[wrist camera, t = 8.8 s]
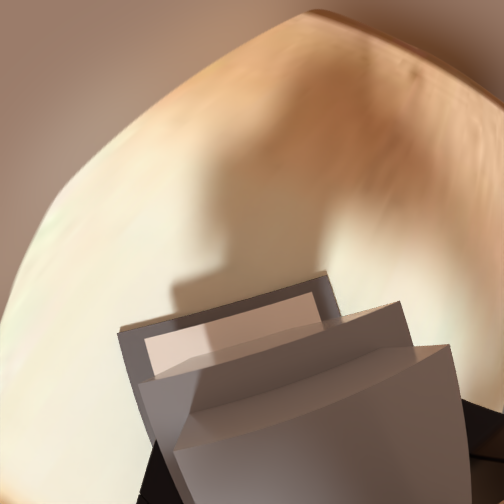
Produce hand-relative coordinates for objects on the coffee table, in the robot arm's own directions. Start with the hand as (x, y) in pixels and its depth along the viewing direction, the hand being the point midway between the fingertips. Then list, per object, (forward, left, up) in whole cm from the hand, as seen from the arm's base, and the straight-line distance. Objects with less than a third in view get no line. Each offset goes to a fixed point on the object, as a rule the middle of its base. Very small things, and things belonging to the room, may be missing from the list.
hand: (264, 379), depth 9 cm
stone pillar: (0, -1, -7) cm, 7 cm away
